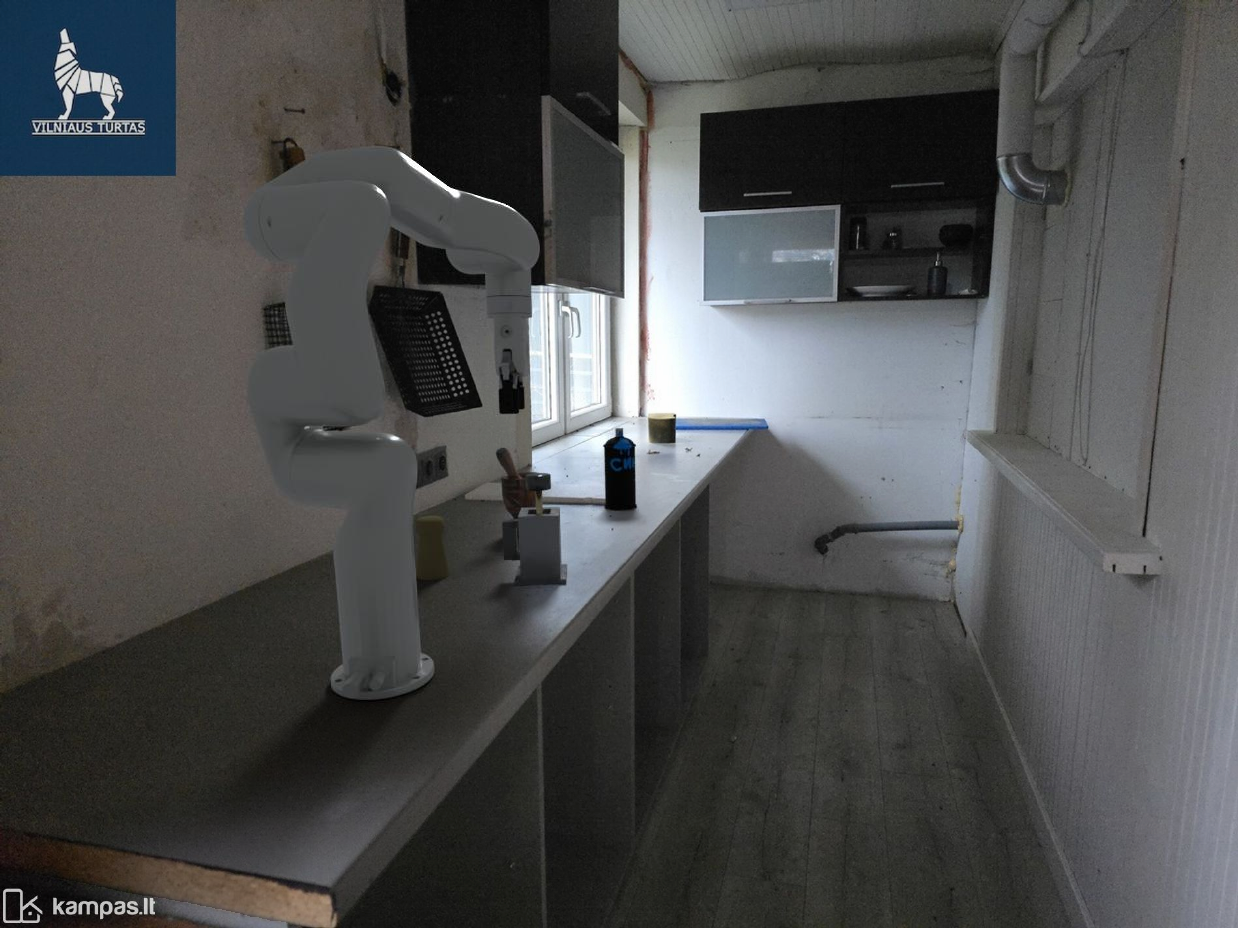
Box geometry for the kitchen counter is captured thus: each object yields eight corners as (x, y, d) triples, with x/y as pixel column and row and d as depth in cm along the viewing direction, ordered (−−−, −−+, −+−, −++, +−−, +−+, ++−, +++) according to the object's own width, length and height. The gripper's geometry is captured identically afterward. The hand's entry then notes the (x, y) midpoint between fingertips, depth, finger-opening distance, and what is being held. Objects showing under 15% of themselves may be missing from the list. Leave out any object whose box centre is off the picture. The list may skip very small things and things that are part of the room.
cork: (441, 581, 136) (437, 521, 134) (410, 579, 137) (406, 520, 135) (455, 570, 142) (452, 513, 140) (425, 569, 143) (421, 512, 141)
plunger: (552, 558, 134) (550, 477, 132) (527, 559, 134) (524, 477, 132) (553, 551, 139) (551, 472, 136) (529, 552, 139) (526, 473, 136)
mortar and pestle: (534, 542, 160) (531, 448, 157) (494, 541, 161) (490, 448, 158) (546, 528, 172) (543, 441, 168) (509, 528, 173) (505, 441, 169)
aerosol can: (599, 505, 194) (597, 427, 191) (628, 502, 197) (627, 425, 194) (612, 511, 187) (611, 431, 183) (642, 508, 190) (641, 428, 187)
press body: (566, 583, 133) (564, 516, 131) (502, 585, 132) (499, 518, 130) (567, 568, 142) (565, 505, 140) (507, 570, 141) (504, 507, 139)
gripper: (527, 305, 118) (530, 415, 121) (535, 311, 135) (538, 407, 138) (478, 306, 118) (482, 416, 120) (493, 311, 135) (496, 408, 137)
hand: (512, 411), depth 129 cm, fingers open, 9 cm apart
